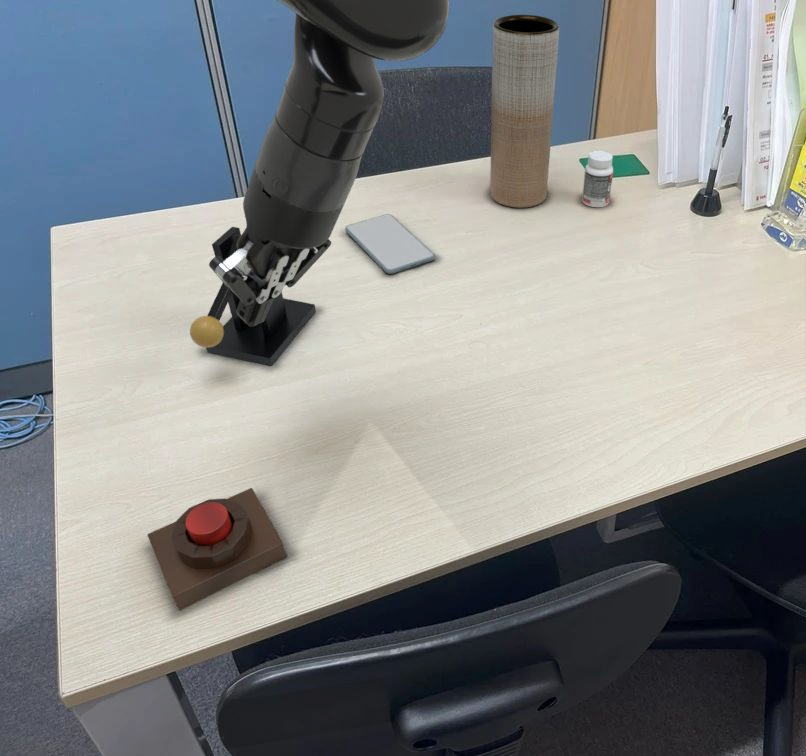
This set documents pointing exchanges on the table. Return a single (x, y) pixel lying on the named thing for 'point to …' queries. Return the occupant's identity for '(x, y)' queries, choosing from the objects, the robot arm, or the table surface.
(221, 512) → the release button
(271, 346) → the latch bracket
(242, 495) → the block
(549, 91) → the vase
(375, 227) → the smartphone
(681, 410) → the table surface
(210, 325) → the latch lever
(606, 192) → the pill bottle
